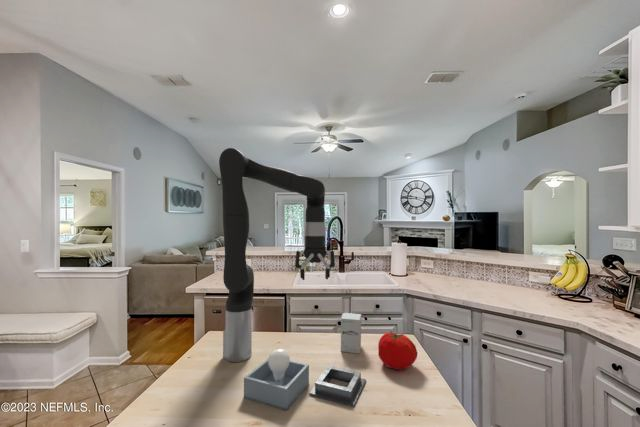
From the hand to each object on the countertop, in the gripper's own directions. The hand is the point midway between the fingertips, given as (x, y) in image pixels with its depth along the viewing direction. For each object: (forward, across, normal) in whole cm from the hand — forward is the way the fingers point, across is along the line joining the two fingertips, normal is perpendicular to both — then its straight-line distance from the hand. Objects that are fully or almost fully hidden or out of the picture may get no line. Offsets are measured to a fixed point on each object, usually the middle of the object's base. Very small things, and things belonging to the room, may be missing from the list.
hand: (315, 279), depth 102 cm
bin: (+28, +13, +18) cm, 36 cm away
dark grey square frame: (+28, -5, +19) cm, 34 cm away
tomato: (+28, -27, +9) cm, 40 cm away
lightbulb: (+28, +12, +18) cm, 35 cm away
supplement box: (+28, -15, -5) cm, 32 cm away
